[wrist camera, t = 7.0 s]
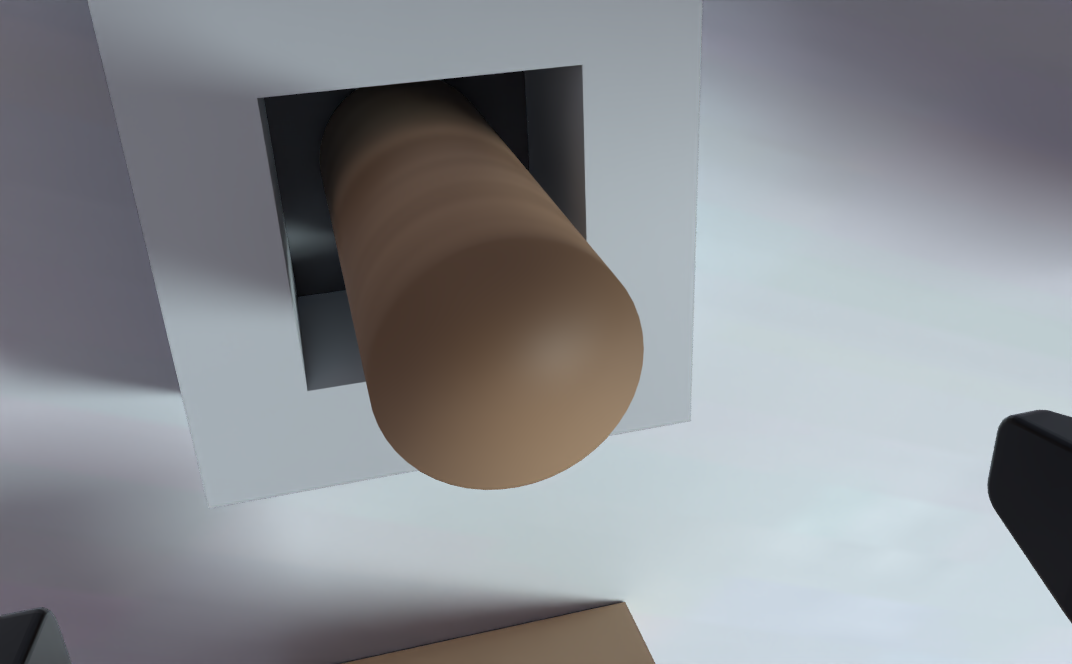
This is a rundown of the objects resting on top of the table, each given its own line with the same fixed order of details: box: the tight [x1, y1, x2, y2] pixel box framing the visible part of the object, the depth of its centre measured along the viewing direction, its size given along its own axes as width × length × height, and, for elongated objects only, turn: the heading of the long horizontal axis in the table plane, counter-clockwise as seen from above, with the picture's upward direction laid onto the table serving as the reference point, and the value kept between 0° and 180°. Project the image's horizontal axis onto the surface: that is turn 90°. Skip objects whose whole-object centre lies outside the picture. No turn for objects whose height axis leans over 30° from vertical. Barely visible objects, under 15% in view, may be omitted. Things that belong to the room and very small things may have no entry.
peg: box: [319, 80, 644, 490], centre depth 16 cm, size 3×3×9 cm
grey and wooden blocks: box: [87, 0, 703, 664], centre depth 18 cm, size 9×18×10 cm, turn 2°
